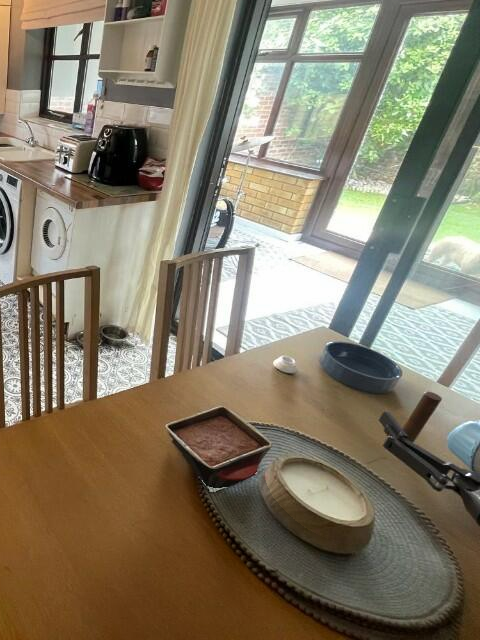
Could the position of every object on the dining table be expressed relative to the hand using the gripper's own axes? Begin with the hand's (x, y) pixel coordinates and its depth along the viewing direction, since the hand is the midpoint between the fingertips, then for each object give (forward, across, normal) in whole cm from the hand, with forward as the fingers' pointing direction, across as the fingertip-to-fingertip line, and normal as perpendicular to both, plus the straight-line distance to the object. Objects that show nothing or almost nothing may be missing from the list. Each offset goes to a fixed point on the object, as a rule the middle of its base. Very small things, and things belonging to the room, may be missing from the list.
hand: (423, 423), depth 84 cm
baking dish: (-15, -41, -8) cm, 44 cm away
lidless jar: (+22, -15, -8) cm, 28 cm away
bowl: (+25, +2, -8) cm, 27 cm away
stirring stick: (+2, 0, -8) cm, 8 cm away
